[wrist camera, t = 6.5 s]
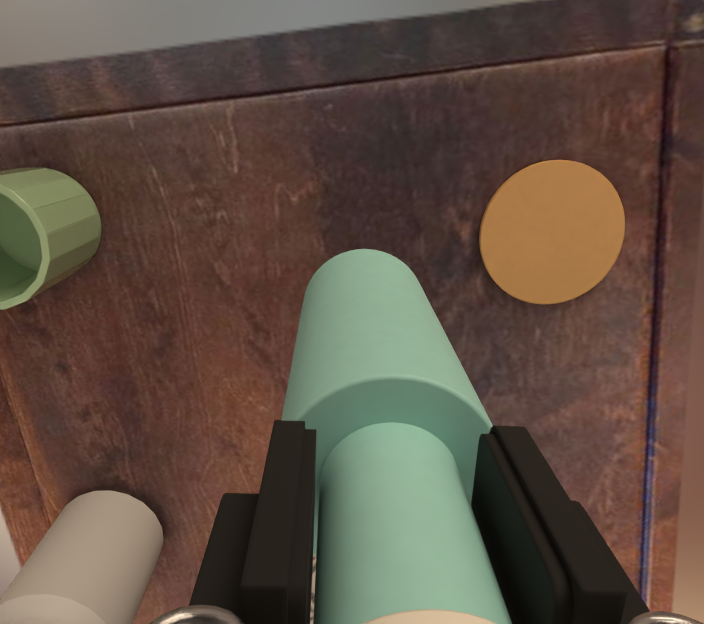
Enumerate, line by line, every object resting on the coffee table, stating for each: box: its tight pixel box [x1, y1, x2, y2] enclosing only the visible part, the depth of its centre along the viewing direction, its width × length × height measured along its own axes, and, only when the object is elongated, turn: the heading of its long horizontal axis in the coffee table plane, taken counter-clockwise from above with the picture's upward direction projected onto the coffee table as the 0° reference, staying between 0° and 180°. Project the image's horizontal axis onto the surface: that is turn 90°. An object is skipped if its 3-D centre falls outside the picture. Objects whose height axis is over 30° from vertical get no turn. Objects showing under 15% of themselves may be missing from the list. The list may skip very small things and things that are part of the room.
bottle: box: [281, 249, 512, 624], centre depth 13 cm, size 4×4×17 cm
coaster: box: [479, 160, 625, 304], centre depth 37 cm, size 9×9×1 cm
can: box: [0, 491, 164, 624], centre depth 37 cm, size 8×8×12 cm
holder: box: [0, 167, 101, 309], centre depth 33 cm, size 7×7×7 cm
